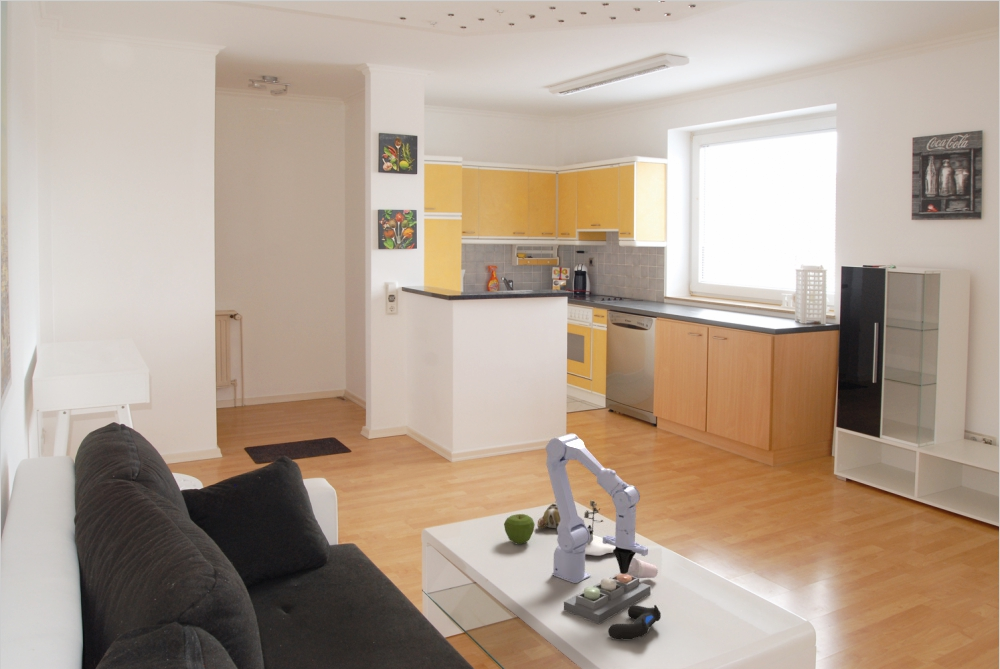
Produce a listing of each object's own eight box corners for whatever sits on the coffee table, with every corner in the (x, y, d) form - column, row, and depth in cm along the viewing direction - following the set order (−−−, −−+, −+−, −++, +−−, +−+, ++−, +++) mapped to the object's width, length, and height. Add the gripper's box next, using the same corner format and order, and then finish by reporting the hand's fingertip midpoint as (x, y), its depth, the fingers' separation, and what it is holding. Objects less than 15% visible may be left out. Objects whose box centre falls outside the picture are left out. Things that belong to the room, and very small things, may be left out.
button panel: (563, 609, 218) (564, 594, 218) (616, 582, 237) (616, 567, 237) (598, 623, 210) (599, 608, 210) (650, 593, 229) (650, 579, 229)
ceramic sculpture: (570, 498, 290) (565, 513, 276) (570, 520, 292) (565, 536, 277) (541, 496, 293) (535, 511, 278) (542, 518, 294) (536, 534, 280)
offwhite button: (597, 588, 223) (597, 581, 223) (606, 583, 226) (606, 577, 226) (610, 593, 220) (610, 586, 220) (619, 588, 223) (619, 581, 223)
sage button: (580, 597, 217) (581, 590, 217) (590, 592, 221) (590, 585, 220) (593, 602, 214) (593, 595, 214) (603, 597, 218) (603, 590, 217)
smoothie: (664, 570, 236) (632, 566, 228) (653, 586, 238) (621, 582, 230) (652, 556, 241) (621, 550, 234) (641, 571, 243) (610, 567, 235)
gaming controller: (613, 650, 201) (645, 640, 196) (603, 629, 202) (634, 618, 197) (637, 625, 215) (668, 614, 210) (628, 605, 216) (658, 594, 211)
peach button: (613, 583, 229) (613, 577, 229) (621, 579, 232) (622, 572, 232) (626, 587, 226) (626, 581, 226) (634, 583, 229) (634, 576, 229)
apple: (515, 534, 277) (515, 507, 276) (540, 541, 271) (540, 513, 269) (497, 543, 268) (498, 515, 267) (523, 550, 262) (523, 521, 261)
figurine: (609, 561, 251) (611, 511, 251) (556, 552, 259) (558, 503, 259) (626, 546, 269) (628, 499, 269) (576, 539, 277) (578, 493, 277)
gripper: (654, 530, 226) (652, 575, 227) (612, 518, 235) (611, 561, 237) (641, 537, 220) (639, 583, 222) (599, 524, 230) (597, 568, 232)
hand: (624, 572), depth 229 cm, fingers closed
